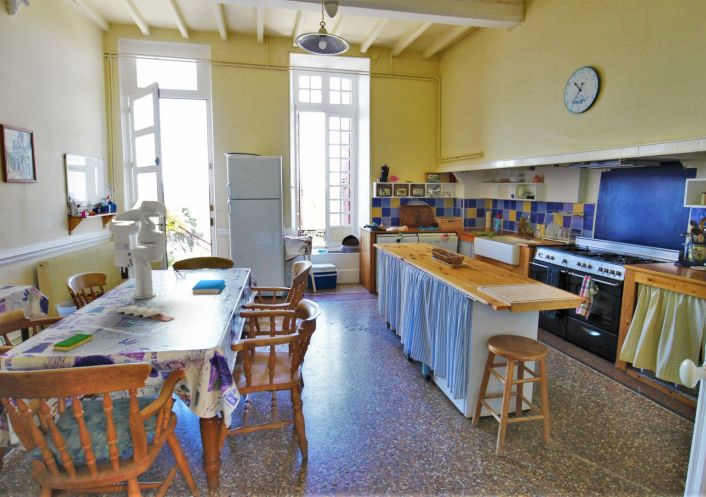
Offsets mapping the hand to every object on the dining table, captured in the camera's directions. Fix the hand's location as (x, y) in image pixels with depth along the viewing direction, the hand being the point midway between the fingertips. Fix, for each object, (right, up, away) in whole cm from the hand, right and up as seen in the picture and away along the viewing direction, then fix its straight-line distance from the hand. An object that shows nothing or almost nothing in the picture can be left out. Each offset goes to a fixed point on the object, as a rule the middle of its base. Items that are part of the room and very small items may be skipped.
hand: (125, 278), depth 227 cm
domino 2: (+7, -17, -8) cm, 20 cm away
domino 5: (+24, -18, -15) cm, 33 cm away
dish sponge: (+5, -25, -49) cm, 55 cm away
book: (+29, -11, +50) cm, 59 cm away
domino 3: (+13, -17, -11) cm, 24 cm away
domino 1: (+1, -17, -6) cm, 18 cm away
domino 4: (+19, -18, -13) cm, 29 cm away
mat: (+11, -19, -10) cm, 24 cm away
